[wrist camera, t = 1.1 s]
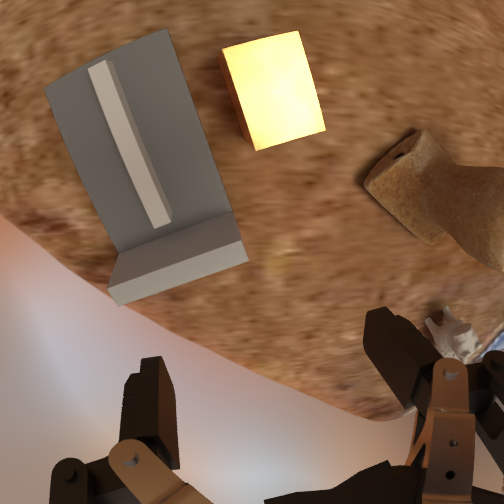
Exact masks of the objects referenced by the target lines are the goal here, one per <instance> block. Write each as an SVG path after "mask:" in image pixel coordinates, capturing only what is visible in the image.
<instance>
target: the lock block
mask: <svg viewBox="0 0 504 504" xmlns="http://www.w3.org/2000/svg"><path fill="white" fill-rule="evenodd" d="M217 59H218V62H219V65H220V68H221V71H222V74H223V76H224V79H225V82H226V85H227V88H228V91H229V94H230V97H231V100H232V103H233V106H234V109H235V112H236V115H237V118H238V121H239V124H240V127H241V131H242V134H243V137H244V139H245V140H246V141H247V142H248V143H249V144H250V145H251V146H252V147H253V148H254V150H255V151H257V150H260V149H264V148H267V147H270V146H273V145H276V144H279V143H283V142H286V141H289V140H293V139H296V138H299V137H303V136H306V135H310V134H313V133H317V132H320V131H324V130H325V126H324V122H323V118H322V114H321V110H320V106H319V102H318V99H317V95H316V91H315V87H314V84H313V80H312V77H311V73H310V70H309V66H308V63H307V59H306V56H305V53H304V49H303V46H302V43H301V40H300V37H299V33H298V31H296V32H290V33H285V34H281V35H276V36H271V37H267V38H263V39H259V40H254V41H251V42H247V43H243V44H239V45H235V46H232V47H228V48H225V49H222V51H221V52H220V53H219V55H218V56H217Z"/></svg>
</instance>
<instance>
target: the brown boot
mask: <svg viewBox="0 0 504 504" xmlns="http://www.w3.org/2000/svg"><path fill="white" fill-rule="evenodd" d="M364 187H365V189H366V190H367V191H368V192H369V193H370V194H371V195H372V196H373V197H374V198H375V199H376V200H377V201H378V202H379V203H380V204H381V205H382V206H383V207H384V208H385V209H386V210H387V211H388V212H390V213H391V214H392V215H394V216H395V218H396V219H397V220H398V221H399V222H401V223H402V224H403V225H404V226H405V227H406V228H407V229H408V230H410V231H411V232H412V233H413V234H414V235H415V236H417V237H418V238H419V239H420V240H422V241H423V242H426V243H428V244H435V243H437V242H439V241H440V240H441V239H442V238H443V237H444V236H445V235H446V234H447V233H449V234H450V235H451V236H452V237H453V238H454V239H455V240H456V242H457V243H458V244H459V245H460V246H461V247H462V248H463V249H464V251H465V252H466V253H468V254H469V255H471V256H472V257H474V258H475V259H477V260H478V261H480V262H481V263H483V264H484V265H486V266H488V267H490V268H492V269H494V270H497V271H500V272H504V168H501V167H474V166H460V165H456V164H455V163H454V162H453V160H452V159H451V158H450V157H449V156H448V155H447V153H446V152H445V151H444V150H443V149H442V148H441V147H440V146H439V145H438V144H437V142H436V141H435V140H434V139H433V138H432V137H431V136H430V134H429V133H428V132H427V131H426V130H424V129H420V130H418V131H417V132H416V133H415V134H413V135H412V136H410V137H408V138H406V139H404V140H403V141H402V142H401V143H399V144H398V145H396V146H395V147H394V148H392V149H391V150H390V151H389V152H388V154H387V155H385V156H384V157H383V158H382V159H381V160H379V161H378V162H377V164H376V165H375V167H374V168H373V169H371V171H370V173H369V174H368V176H367V177H366V179H365V181H364Z"/></svg>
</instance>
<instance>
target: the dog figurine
mask: <svg viewBox="0 0 504 504" xmlns="http://www.w3.org/2000/svg"><path fill="white" fill-rule="evenodd" d="M443 313H444V315H445V318H446V321H447V322H446V323H445V324H443V325H442V326H437V325H436V324H435V323H434V322H433V321H432V319H431V318H430V317H428V318H426V319H425V321H424V323H425V324H426V325H427V327H428V329H429V330H430V332H431V334H432V335H433V337H434V341H435V343H436V348H437V351H438V352H439V353H440V354H441V355H442V356H443V357H444V358H455V359H458V360H459V361H461V362H462V363H463V364H464V363H466V362H467V361H468V358H469V357H470V356H471V355H472V354H473V353H474V352H475V351H476V350H478V349H480V348H481V347H482V342H481V341H480V340H479V339H478V336H477V334H476V333H475V331H474V330H473V329H472V324H471V323H466V324H464V322H462V321H461V320H459V319H456V318H455V317H454V316H453V314H452V312H451V311H450V309H449V307H448V306H445V307H444V308H443Z"/></svg>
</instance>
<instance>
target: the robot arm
mask: <svg viewBox="0 0 504 504" xmlns="http://www.w3.org/2000/svg"><path fill="white" fill-rule="evenodd" d="M363 346H364V350H365V352H366V354H367V356H368V357H369V358H370V360H371V361H372V363H373V364H374V366H375V367H376V368H377V370H378V371H379V373H380V374H381V376H382V377H383V378H384V380H385V381H386V383H387V384H388V386H389V387H390V388H391V390H392V391H393V393H394V394H395V396H396V397H397V398H398V400H399V401H400V403H401V404H402V406H403V407H404V409H407V408H409V407H412V406H414V405H415V406H416V408H417V412H416V416H415V422H414V429H413V435H412V441H411V446H410V451H409V454H408V458H407V460H406V463H405V465H399V466H391V465H390V463H389V461H388V460H386V461H384V462H382V463H379V464H377V465H374V466H372V467H369V468H367V469H364V470H362V471H360V472H358V473H357V474H355V475H354V476H352V477H351V478H349V479H347V480H346V481H344V482H343V483H341V484H339V485H338V486H336V487H334V488H332V489H328V490H318V491H305V492H295V493H291V494H287V495H283V496H279V497H274V498H270V499H266V500H264V504H504V478H503V487H502V493H503V494H499V493H495V492H492V491H488V490H485V489H481V488H478V487H475V486H472V482H473V471H474V457H475V431H476V433H477V434H478V436H479V437H480V439H481V440H482V442H483V443H484V445H485V446H486V448H487V449H488V451H489V452H490V454H491V456H492V457H493V459H494V460H495V462H496V463H497V465H498V467H499V468H500V470H501V471H502V473H503V475H504V412H503V411H502V409H501V408H500V407H499V405H498V404H497V403H496V401H495V400H496V398H497V397H498V399H499V400H500V401H501V402H502V404H503V405H504V352H502V351H498V350H492V351H489V352H487V353H486V354H485V355H484V357H483V359H482V362H480V363H474V364H468V365H464V364H463V363H462V362H461V361H459V360H458V359H455V358H444V357H443V356H442V355H441V354H440V353H439V352H438V351H437V349H436V348H435V347H434V346H433V345H432V344H431V343H430V342H429V341H428V340H427V339H426V338H425V337H424V336H422V333H421V332H420V331H419V330H417V329H416V327H415V326H414V325H413V324H412V323H411V322H410V321H409V320H407V319H405V318H403V317H402V316H400V315H396V316H395V315H394V314H393V313H392V312H391V311H390V310H389V309H388V308H387V307H385V306H384V307H380V308H377V309H373V310H370V311H368V312H367V313H366V319H365V328H364V336H363ZM123 396H124V398H123V403H122V405H123V407H122V412H121V423H120V435H119V442H118V443H117V444H116V445H115V446H114V447H113V448H112V449H111V451H110V453H109V455H108V456H107V457H105V458H102V459H99V460H96V461H93V462H90V463H87V464H84V463H83V462H82V461H80V460H79V459H76V458H66V459H63V460H61V461H59V462H58V463H57V464H56V465H55V467H54V468H53V471H52V476H51V485H50V498H49V504H213V503H212V502H211V501H210V500H208V499H207V498H206V497H205V496H203V495H202V494H201V493H199V491H197V490H196V489H195V488H194V487H193V486H191V485H190V484H188V483H185V482H184V481H182V480H181V479H180V478H179V477H178V476H177V475H176V474H174V473H173V471H172V470H177V469H180V461H179V448H178V435H177V418H176V399H175V391H174V387H173V384H172V381H171V379H170V376H169V374H168V371H167V368H166V366H165V363H164V360H163V358H162V357H161V356H156V357H149V358H143V359H141V366H140V373H133V374H131V375H130V376H129V378H128V380H127V381H126V383H125V386H124V394H123Z"/></svg>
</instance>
